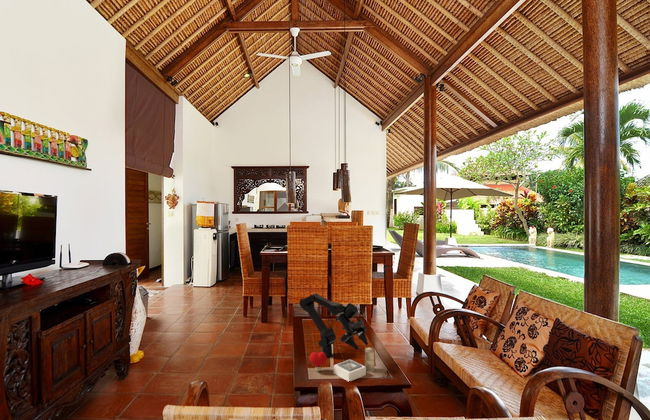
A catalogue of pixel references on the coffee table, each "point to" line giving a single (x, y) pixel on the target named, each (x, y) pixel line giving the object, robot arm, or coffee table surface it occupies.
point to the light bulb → (318, 359)
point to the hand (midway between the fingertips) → (362, 347)
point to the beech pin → (369, 359)
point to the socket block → (349, 370)
